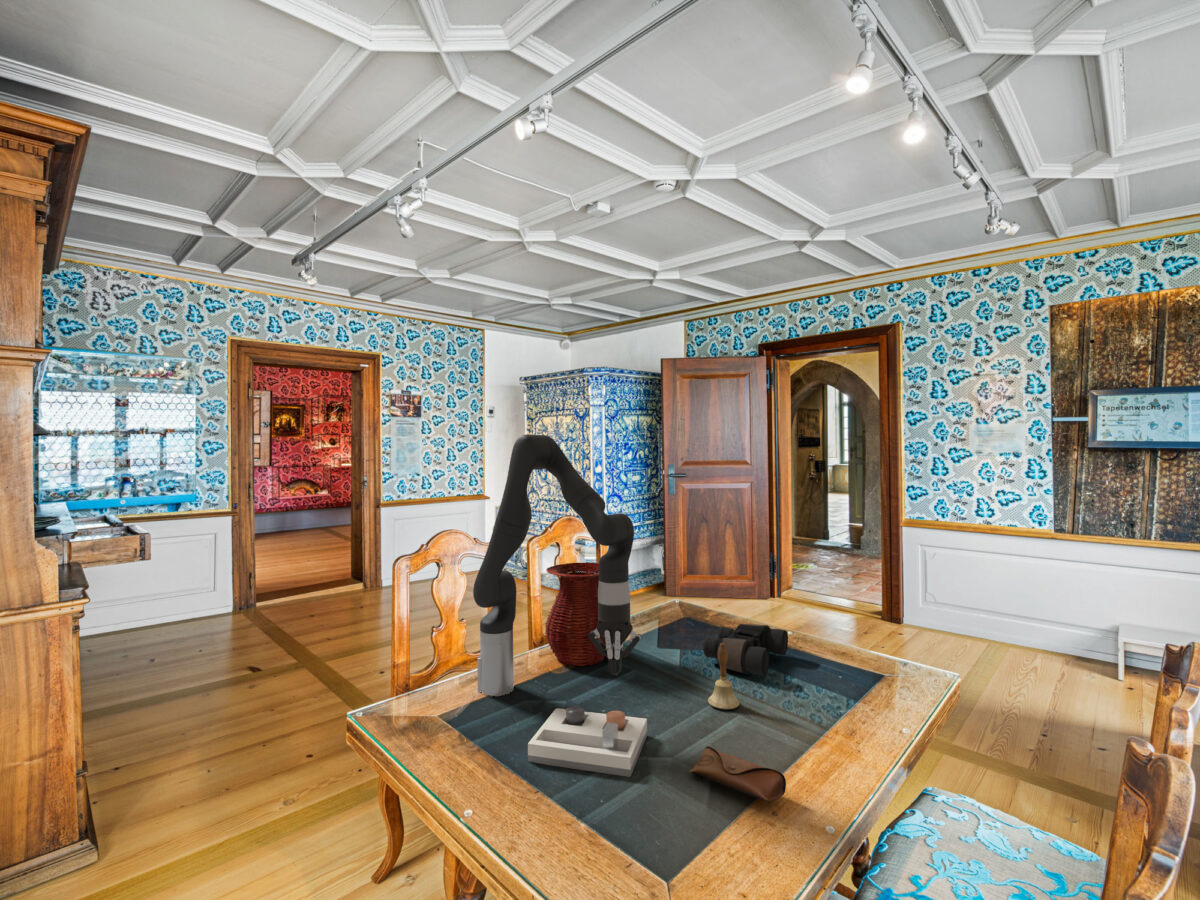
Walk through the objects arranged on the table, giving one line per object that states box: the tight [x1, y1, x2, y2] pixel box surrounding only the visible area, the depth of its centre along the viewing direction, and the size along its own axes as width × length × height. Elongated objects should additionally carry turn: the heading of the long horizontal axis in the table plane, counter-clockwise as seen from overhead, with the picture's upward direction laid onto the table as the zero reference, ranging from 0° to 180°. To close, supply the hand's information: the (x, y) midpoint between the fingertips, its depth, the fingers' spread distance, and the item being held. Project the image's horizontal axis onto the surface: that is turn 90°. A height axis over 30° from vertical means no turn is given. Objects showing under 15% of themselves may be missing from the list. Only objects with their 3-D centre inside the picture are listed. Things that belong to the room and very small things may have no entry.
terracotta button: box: [605, 710, 626, 730], centre depth 133 cm, size 4×4×3 cm
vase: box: [544, 562, 606, 667], centre depth 186 cm, size 23×24×30 cm
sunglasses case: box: [688, 746, 787, 803], centre depth 115 cm, size 18×7×7 cm
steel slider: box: [602, 722, 618, 751], centre depth 124 cm, size 2×4×6 cm, turn 164°
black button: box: [565, 705, 585, 725], centre depth 136 cm, size 4×4×3 cm
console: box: [527, 708, 648, 778], centre depth 130 cm, size 23×18×4 cm
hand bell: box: [707, 643, 740, 710], centre depth 153 cm, size 8×8×16 cm
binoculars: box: [702, 623, 789, 677], centre depth 183 cm, size 29×20×10 cm
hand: (615, 673), depth 133 cm, fingers closed
